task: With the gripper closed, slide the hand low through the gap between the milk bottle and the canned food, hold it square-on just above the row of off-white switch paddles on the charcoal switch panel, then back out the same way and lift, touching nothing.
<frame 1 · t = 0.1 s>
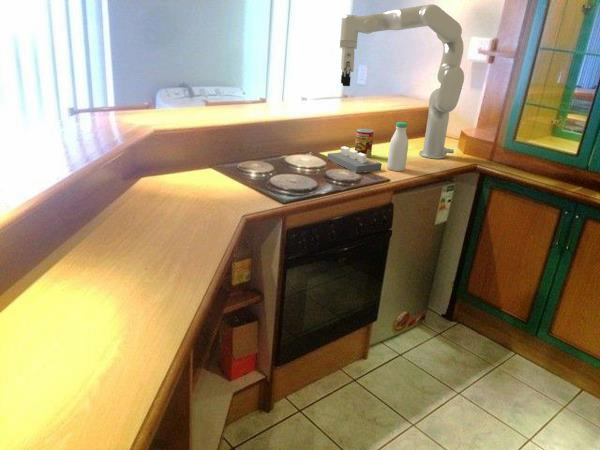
hand: (345, 84, 223), 31 cm above the worktop, tool pointing down, fingers open, 9 cm apart
milk bottle: (395, 169, 211), on the worktop
paddle 1: (345, 151, 216), point 5 cm above the worktop, hinge at 15.0°
paddle mid: (353, 154, 211), point 5 cm above the worktop, hinge at 15.0°
paddle 2: (361, 157, 207), point 5 cm above the worktop, hinge at 15.0°
canned food: (362, 156, 230), on the worktop
switch panel: (353, 165, 213), on the worktop
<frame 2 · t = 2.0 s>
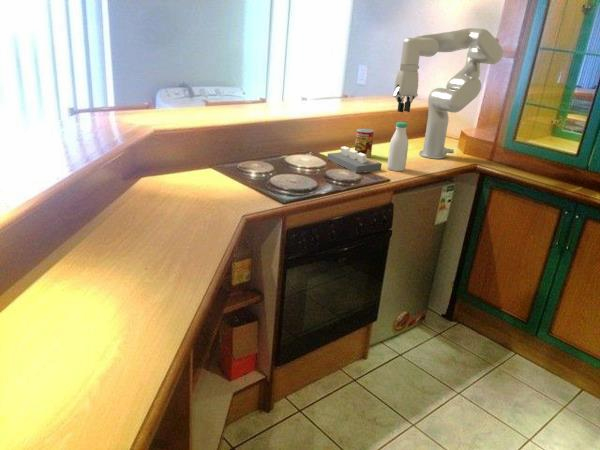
hand: (403, 111, 217), 22 cm above the worktop, tool pointing down, fingers open, 3 cm apart
nothing on the worktop moved.
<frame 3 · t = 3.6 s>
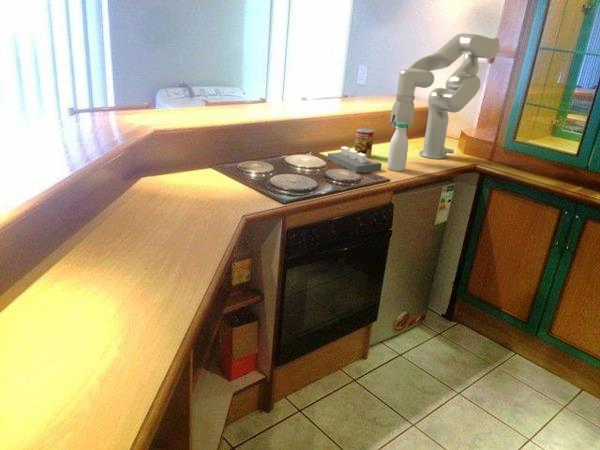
hand: (399, 140, 222), 9 cm above the worktop, tool pointing down, fingers closed
nothing on the worktop moved.
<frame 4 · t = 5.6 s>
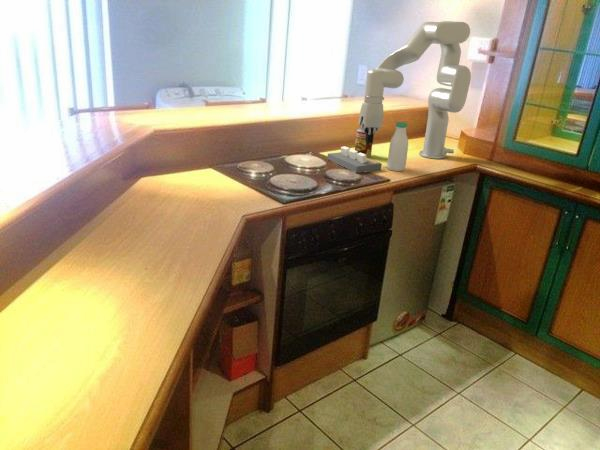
hand: (368, 142, 213), 9 cm above the worktop, tool pointing down, fingers closed
nothing on the worktop moved.
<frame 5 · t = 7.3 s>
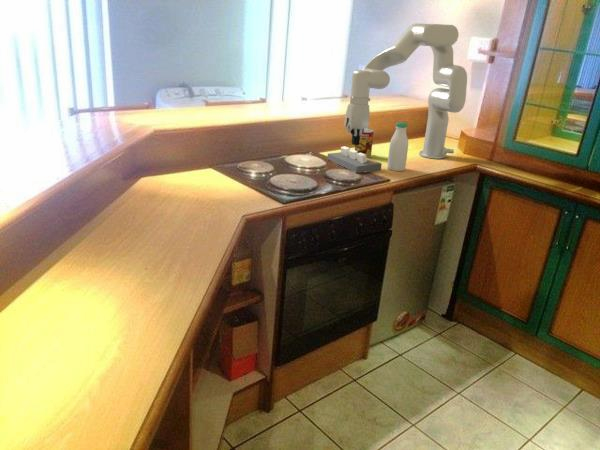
hand: (355, 144, 210), 9 cm above the worktop, tool pointing down, fingers closed
nothing on the worktop moved.
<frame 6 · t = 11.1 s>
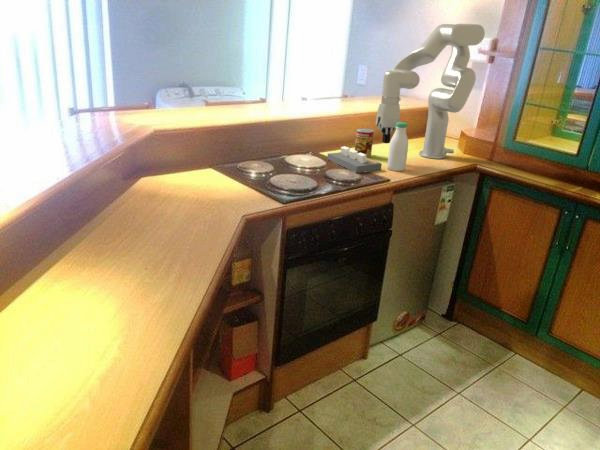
hand: (385, 142, 218), 9 cm above the worktop, tool pointing down, fingers closed
nothing on the worktop moved.
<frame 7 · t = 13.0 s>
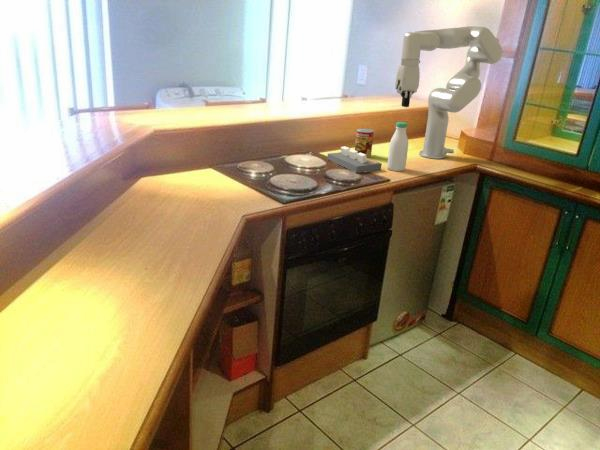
hand: (405, 106, 216), 24 cm above the worktop, tool pointing down, fingers closed
nothing on the worktop moved.
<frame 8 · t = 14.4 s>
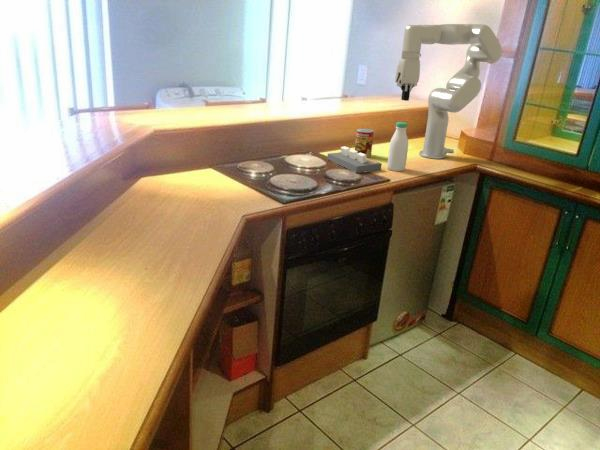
hand: (405, 100, 215), 27 cm above the worktop, tool pointing down, fingers closed
nothing on the worktop moved.
at the end: milk bottle moved 0.2 cm from its start; canned food moved 0.2 cm from its start; paddle mid at +15° (first picture: +15°) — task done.
